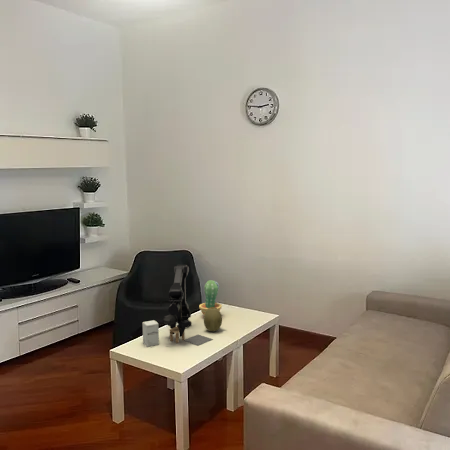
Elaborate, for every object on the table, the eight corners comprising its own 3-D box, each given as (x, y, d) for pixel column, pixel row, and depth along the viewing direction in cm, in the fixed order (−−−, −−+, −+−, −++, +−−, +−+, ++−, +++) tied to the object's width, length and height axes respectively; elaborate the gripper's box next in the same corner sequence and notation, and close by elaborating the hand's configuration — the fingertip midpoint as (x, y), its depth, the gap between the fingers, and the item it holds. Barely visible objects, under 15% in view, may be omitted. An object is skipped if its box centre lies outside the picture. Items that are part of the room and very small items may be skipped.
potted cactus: (224, 319, 311) (224, 282, 308) (201, 322, 307) (201, 284, 304) (219, 312, 326) (218, 277, 323) (197, 314, 322) (196, 278, 319)
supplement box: (146, 347, 266) (146, 325, 265) (142, 342, 273) (142, 321, 271) (159, 344, 270) (158, 323, 268) (155, 340, 276) (154, 319, 274)
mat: (183, 340, 275) (183, 340, 275) (198, 335, 284) (198, 334, 284) (198, 345, 267) (198, 345, 267) (212, 339, 276) (212, 339, 276)
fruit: (225, 331, 290) (225, 307, 288) (211, 335, 283) (211, 311, 281) (214, 326, 299) (214, 303, 297) (200, 330, 291) (199, 307, 290)
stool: (170, 340, 275) (169, 329, 274) (177, 337, 280) (177, 326, 279) (177, 343, 271) (176, 331, 270) (184, 340, 276) (184, 328, 275)
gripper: (155, 309, 273) (156, 335, 275) (177, 316, 261) (177, 343, 263) (169, 305, 282) (170, 330, 284) (191, 311, 269) (192, 337, 271)
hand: (177, 335), depth 275 cm, fingers closed on stool, 6 cm apart
